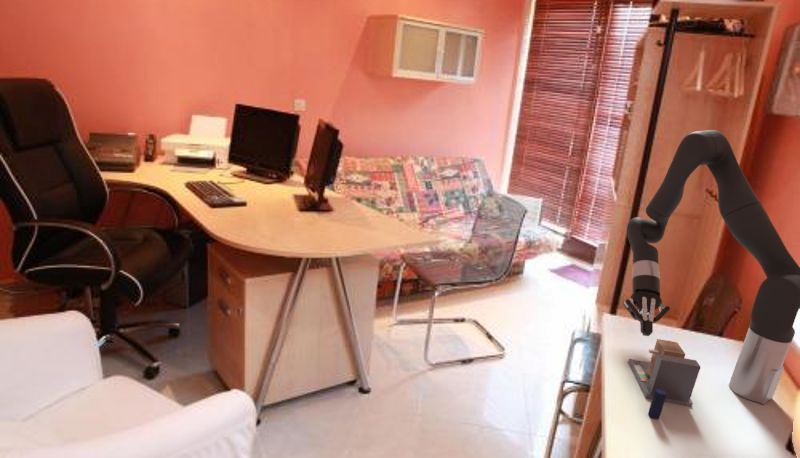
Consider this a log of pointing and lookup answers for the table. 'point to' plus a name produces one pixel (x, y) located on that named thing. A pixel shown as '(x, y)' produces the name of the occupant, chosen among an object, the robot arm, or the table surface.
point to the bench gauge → (667, 377)
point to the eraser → (657, 404)
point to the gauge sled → (664, 352)
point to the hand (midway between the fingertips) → (646, 335)
